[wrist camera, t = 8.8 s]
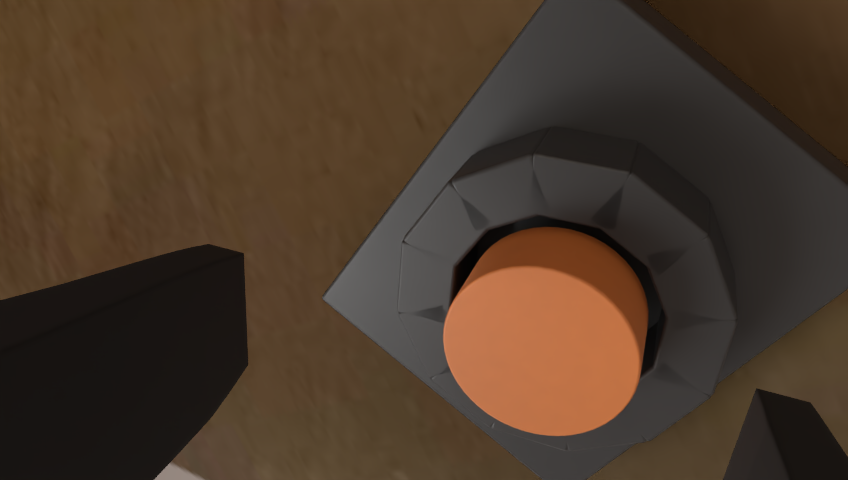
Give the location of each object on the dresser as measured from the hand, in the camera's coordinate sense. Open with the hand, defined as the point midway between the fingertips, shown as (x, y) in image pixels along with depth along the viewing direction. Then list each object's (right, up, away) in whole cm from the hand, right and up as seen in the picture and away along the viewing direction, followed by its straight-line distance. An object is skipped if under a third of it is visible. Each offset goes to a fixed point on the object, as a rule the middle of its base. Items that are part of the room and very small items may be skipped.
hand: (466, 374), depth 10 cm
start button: (+2, +1, +5) cm, 5 cm away
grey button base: (+3, +2, +7) cm, 8 cm away
